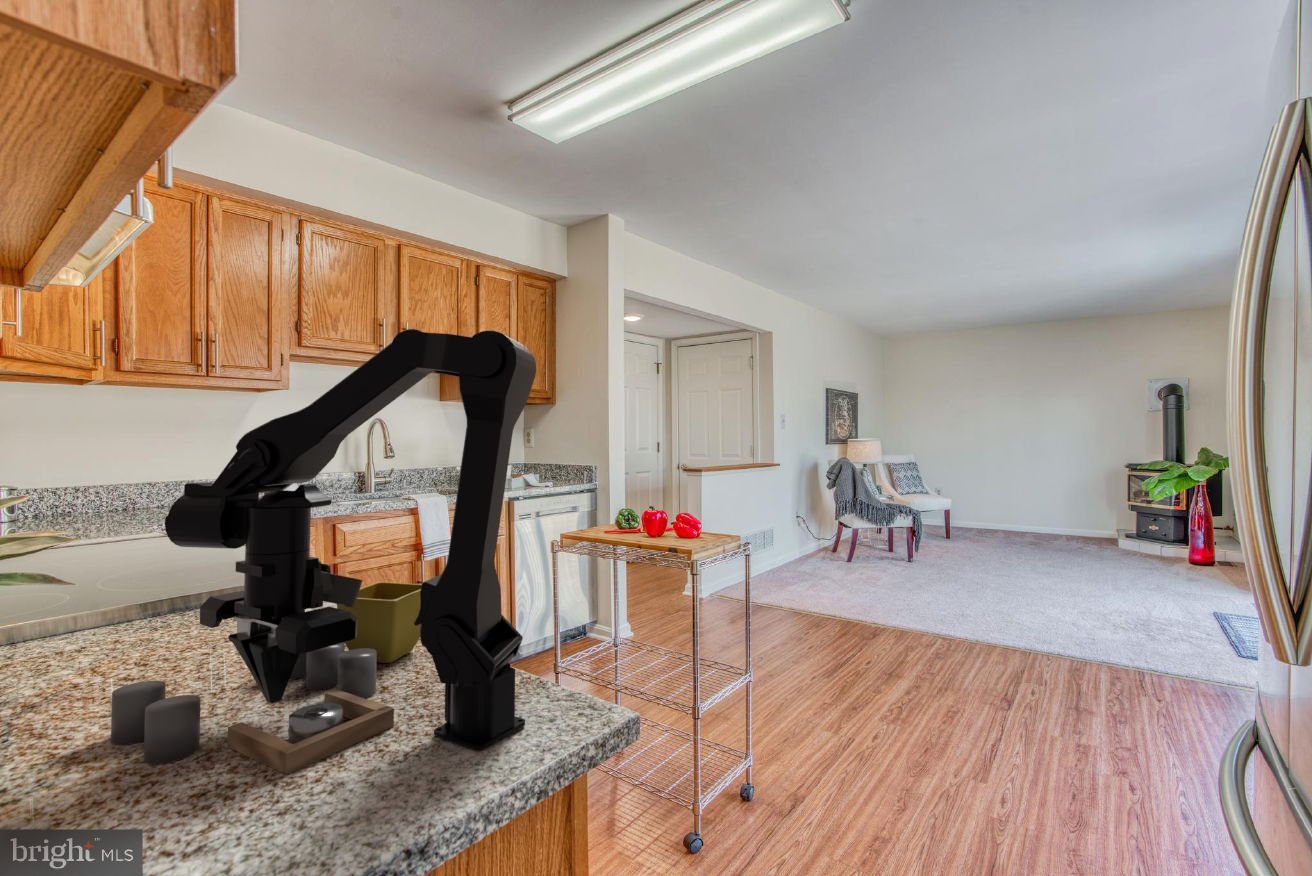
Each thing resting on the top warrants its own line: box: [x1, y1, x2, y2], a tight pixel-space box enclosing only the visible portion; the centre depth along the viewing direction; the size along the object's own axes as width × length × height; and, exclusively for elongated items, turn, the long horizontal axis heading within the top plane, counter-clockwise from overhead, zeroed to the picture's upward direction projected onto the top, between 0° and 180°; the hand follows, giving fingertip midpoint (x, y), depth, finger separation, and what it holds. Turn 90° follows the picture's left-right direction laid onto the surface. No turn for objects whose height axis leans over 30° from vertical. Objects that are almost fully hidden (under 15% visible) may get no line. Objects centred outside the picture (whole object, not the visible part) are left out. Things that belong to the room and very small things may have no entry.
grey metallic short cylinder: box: [287, 702, 344, 744], centre depth 59 cm, size 5×5×3 cm
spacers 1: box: [110, 680, 202, 765], centre depth 58 cm, size 11×4×4 cm, turn 60°
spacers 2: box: [289, 642, 377, 699], centre depth 73 cm, size 16×4×4 cm, turn 60°
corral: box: [227, 688, 395, 776], centre depth 59 cm, size 10×11×2 cm
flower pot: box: [336, 581, 422, 664], centre depth 82 cm, size 9×9×9 cm
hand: (274, 701), depth 63 cm, fingers closed
